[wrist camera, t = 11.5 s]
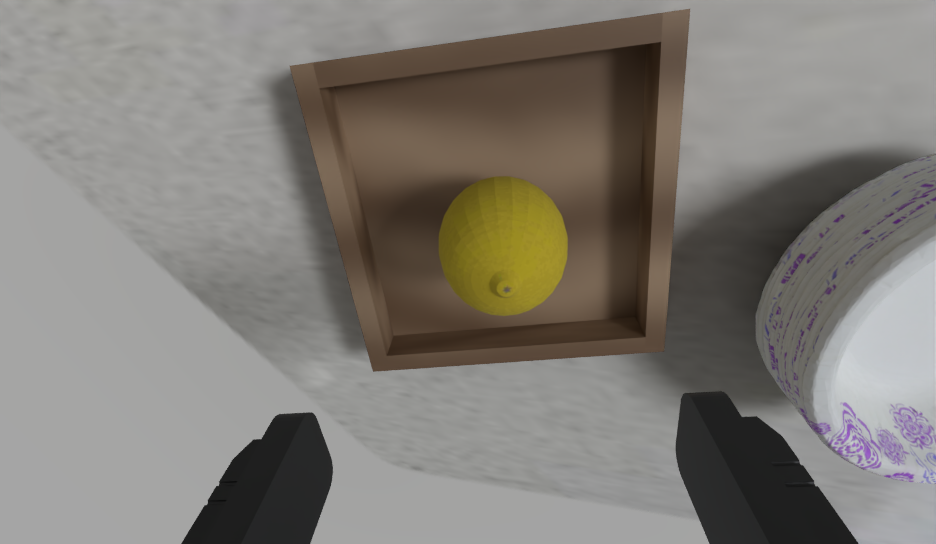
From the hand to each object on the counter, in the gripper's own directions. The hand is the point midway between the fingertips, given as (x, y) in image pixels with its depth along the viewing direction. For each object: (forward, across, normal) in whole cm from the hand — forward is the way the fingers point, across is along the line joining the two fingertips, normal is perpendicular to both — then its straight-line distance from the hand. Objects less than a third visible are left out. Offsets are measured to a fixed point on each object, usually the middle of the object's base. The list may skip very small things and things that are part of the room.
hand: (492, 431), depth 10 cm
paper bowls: (+16, -20, +6) cm, 27 cm away
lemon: (+15, 0, 0) cm, 15 cm away
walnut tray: (+16, 0, 0) cm, 16 cm away
